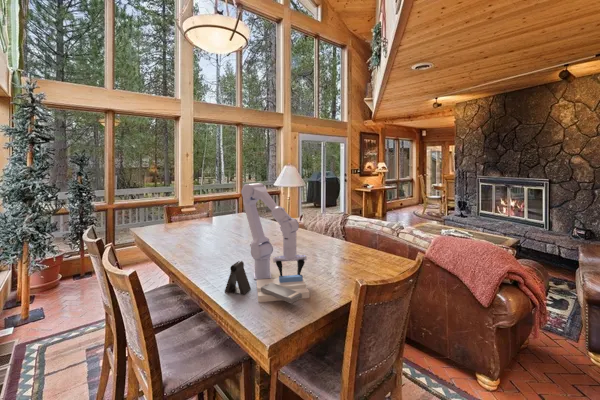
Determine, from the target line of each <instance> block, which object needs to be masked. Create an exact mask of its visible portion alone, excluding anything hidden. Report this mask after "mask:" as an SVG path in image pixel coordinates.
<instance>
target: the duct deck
mask: <svg viewBox="0 0 600 400" xmlns="http://www.w3.org/2000/svg"><path fill="white" fill-rule="evenodd" d="M269 283H274V284H277V285H280V286H283V287H285V288H288V289H291V290H294V291H296V292H299V293H302V298H300V299H299V300H301V299H310V290H309V289H308V288H307V287H306V286H307V285H306V283H305V280H304V279H303V281H297V282H283V283H280V282H279V277H278V278H277V277H276V278H270V279H256V288H257V289H256V291H257V302H258V303H265V302H266V303H267V302H277V301H283V300H282V299H279V298H277V297H274V296H272V295H269V294H267V293H264V292H262V291H261V287H263V286H265V284H269Z"/></svg>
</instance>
